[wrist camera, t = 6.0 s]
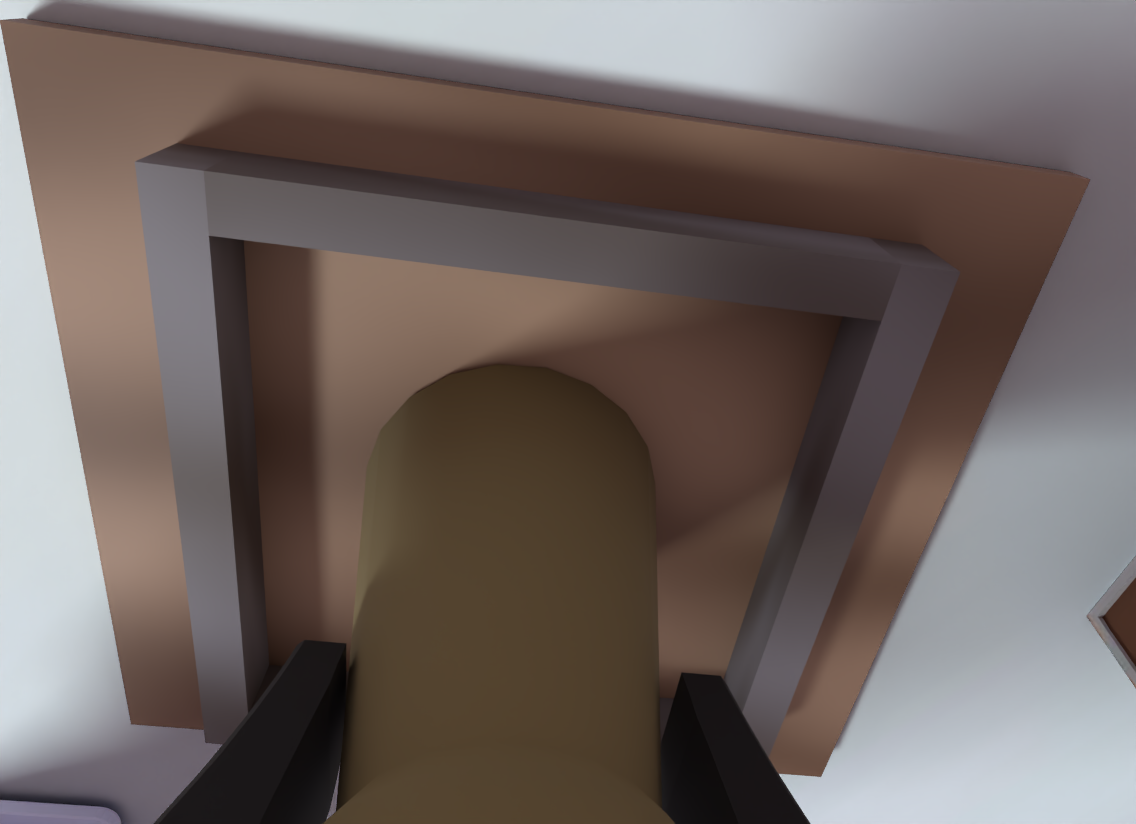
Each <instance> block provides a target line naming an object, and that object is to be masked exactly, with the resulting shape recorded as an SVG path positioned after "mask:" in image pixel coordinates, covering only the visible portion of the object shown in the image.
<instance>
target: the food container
mask: <svg viewBox="0 0 1136 824" xmlns="http://www.w3.org/2000/svg"><path fill="white" fill-rule="evenodd" d="M1087 617H1088V619H1089V620H1090V622H1091V623H1092V625H1093V626H1094V628H1095V629H1096V631H1097V632H1098V634H1099V635H1100V637H1101V638H1102V639H1103V641H1104V642H1105V644H1106V645H1107V647H1108V648H1109V650H1110V651H1111V653H1112V654H1113V656H1114V657H1115V659H1116V660H1117V661H1118V663H1119V664H1120V666H1121V667H1122V669H1123V670H1124V672H1125V673H1126V675H1127V676H1128V678H1129V679H1130V681H1131V682H1132V683H1133V685H1134V686H1135V688H1136V556H1135V557H1134V559H1133V560H1132V561H1131V562H1130V564H1129V565H1128V566H1127V567H1126V568H1125V570H1124V571H1123V572H1122V573H1121V575H1120V576H1119V577H1118V578H1117V579H1116V581H1115V582H1114V583H1113V584H1112V585H1111V587H1110V588H1109V589H1108V590H1107V592H1106V593H1105V594H1104V595H1103V596H1102V598H1101V599H1100V600H1099V601H1098V603H1097V604H1096V605H1095V606H1094V607H1093V609H1092V610H1091V611H1090V612H1089V614H1088V615H1087Z"/></svg>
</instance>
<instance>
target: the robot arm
mask: <svg viewBox="0 0 1136 824" xmlns="http://www.w3.org/2000/svg"><path fill="white" fill-rule="evenodd" d="M345 706H346V643H336V642H325V641H313V640H304V641H302V642H301V643H299V644H298V645H297V646H296V647H295V649H294V650H293V652H292V653H291V655H290V657H289V658H288V660H287V661H286V663H285V664H284V665H283V667H282V668H281V670H280V671H279V673H278V674H277V675H276V677H275V678H274V680H273V681H272V682H271V684H270V685H269V687H268V688H267V689H266V691H265V692H264V693H263V695H262V696H261V697H260V699H259V700H258V701H257V703H256V704H255V705H254V706H253V708H252V709H251V710H250V712H249V713H248V714H247V716H246V717H245V718H244V719H243V721H242V722H241V723H240V724H239V726H238V727H237V728H236V729H235V731H234V732H233V733H232V734H231V735H230V737H229V738H228V739H227V740H226V742H225V743H224V744H223V745H222V746H221V748H220V749H219V750H218V751H217V753H216V754H215V755H214V756H213V757H212V759H211V760H210V761H209V762H208V763H207V765H206V766H205V767H204V768H203V769H202V770H201V772H200V773H199V774H198V775H197V776H196V777H195V778H194V779H193V781H192V782H191V783H190V784H189V785H188V786H187V787H186V788H185V789H184V791H183V792H182V793H181V794H180V795H179V796H178V797H177V798H176V799H175V801H174V802H173V803H172V804H171V805H170V806H169V807H168V808H167V809H166V811H165V812H164V813H163V814H162V815H161V816H160V817H159V818H158V819H157V821H156V822H155V823H154V824H323V823H324V822H325V821H326V818H327V815H328V812H329V809H330V806H331V801H332V797H333V793H334V788H335V784H336V780H337V775H338V771H339V766H340V762H341V750H342V739H343V728H344V717H345ZM661 782H662V810H663V811H664V812H666V813H667V815H668V816H669V817H670V818H671V819H672V820H673V821H674V823H675V824H810V822H809V821H808V819H807V818H806V816H805V815H804V813H803V812H802V810H801V808H800V807H799V805H798V804H797V802H796V801H795V799H794V798H793V796H792V794H791V793H790V791H789V790H788V788H787V787H786V785H785V784H784V782H783V780H782V779H781V777H780V776H779V774H778V772H777V771H776V769H775V768H774V766H773V764H772V763H771V761H770V759H769V758H768V756H767V754H766V753H765V751H764V749H763V748H762V746H761V744H760V742H759V741H758V739H757V737H756V736H755V734H754V732H753V731H752V729H751V727H750V725H749V724H748V722H747V720H746V718H745V717H744V715H743V713H742V711H741V709H740V708H739V706H738V704H737V702H736V700H735V699H734V697H733V695H732V693H731V691H730V690H729V688H728V686H727V684H726V682H725V681H724V680H723V678H722V677H721V676H718V675H706V674H695V673H683V672H681V676H680V679H679V683H678V686H677V690H676V693H675V696H674V700H673V703H672V707H671V710H670V714H669V717H668V720H667V724H666V727H665V731H664V734H663V738H662V741H661ZM0 824H121V820H120V818H119V816H118V814H117V813H116V812H114V811H113V810H111V809H109V808H105V807H99V806H84V805H69V804H54V803H39V802H25V801H10V800H0Z"/></svg>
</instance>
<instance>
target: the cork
mask: <svg viewBox="0 0 1136 824" xmlns="http://www.w3.org/2000/svg"><path fill="white" fill-rule="evenodd" d="M323 824H675V823H674V821H673V820H672V819H671V818H670V817H669V816H668V815H667V813H666V812H664V811H663V810H662V782H661V734H660V687H659V639H658V591H657V543H656V495H655V480H654V475H653V470H652V465H651V460H650V454H649V449H648V446H647V444H646V443H645V441H644V440H643V438H642V436H641V435H640V433H639V432H638V430H637V429H636V427H635V425H634V424H633V422H632V421H631V419H630V417H629V416H628V414H627V413H626V412H625V411H624V410H623V409H622V408H620V407H619V406H618V405H616V404H615V403H614V402H613V401H611V400H610V399H609V398H608V397H606V396H605V395H604V394H602V393H601V392H600V391H599V390H597V389H596V388H595V387H594V386H592V385H591V384H588V383H585V382H583V381H580V380H577V379H575V378H572V377H570V376H567V375H564V374H562V373H559V372H556V371H554V370H551V369H548V368H541V367H527V366H513V365H500V364H497V365H492V366H488V367H483V368H478V369H474V370H469V371H464V372H460V373H455V374H450V375H448V376H446V377H445V378H443V379H441V380H439V381H438V382H436V383H434V384H432V385H430V386H429V387H427V388H425V389H423V390H422V391H420V392H418V393H416V394H414V395H413V396H411V397H409V398H408V399H407V401H406V402H405V403H404V404H403V405H402V406H401V407H400V408H399V410H398V411H397V412H396V413H395V414H394V415H393V416H392V417H391V419H390V420H389V421H388V422H387V423H386V424H385V425H384V426H383V428H382V429H381V430H380V433H379V436H378V438H377V441H376V444H375V446H374V449H373V451H372V454H371V457H370V459H369V462H368V465H367V470H366V481H365V493H364V504H363V515H362V526H361V538H360V549H359V560H358V571H357V582H356V594H355V605H354V616H353V627H352V638H351V650H350V661H349V672H348V683H347V694H346V706H345V717H344V728H343V739H342V750H341V762H340V773H339V784H338V795H337V807H336V812H335V813H334V814H333V815H332V816H331V817H330V818H328V819H327V820H326V821H325V822H324V823H323Z"/></svg>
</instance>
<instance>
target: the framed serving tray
mask: <svg viewBox="0 0 1136 824" xmlns="http://www.w3.org/2000/svg"><path fill="white" fill-rule="evenodd" d="M0 24H1V29H2V34H3V40H4V45H5V50H6V56H7V61H8V66H9V72H10V77H11V82H12V88H13V93H14V99H15V104H16V109H17V115H18V120H19V125H20V131H21V136H22V141H23V147H24V152H25V158H26V163H27V168H28V174H29V179H30V184H31V190H32V195H33V200H34V206H35V211H36V216H37V222H38V227H39V233H40V238H41V243H42V249H43V254H44V259H45V265H46V270H47V275H48V281H49V286H50V292H51V297H52V302H53V308H54V313H55V318H56V324H57V329H58V334H59V340H60V345H61V351H62V356H63V361H64V367H65V372H66V377H67V383H68V388H69V393H70V399H71V404H72V409H73V415H74V420H75V426H76V431H77V436H78V442H79V447H80V452H81V458H82V463H83V468H84V474H85V479H86V485H87V490H88V495H89V501H90V506H91V511H92V517H93V522H94V527H95V533H96V538H97V543H98V549H99V554H100V560H101V565H102V570H103V576H104V581H105V586H106V592H107V597H108V602H109V608H110V613H111V619H112V624H113V629H114V635H115V640H116V645H117V651H118V656H119V661H120V667H121V672H122V678H123V683H124V688H125V694H126V699H127V704H128V710H129V715H130V720H131V724H136V725H149V726H162V727H175V728H188V729H201V730H204V733H205V742H206V743H215V744H224V743H225V742H226V740H227V739H228V738H229V737H230V735H231V734H232V733H233V732H234V731H235V729H236V728H237V727H238V726H239V724H240V723H241V722H242V721H243V719H244V718H245V717H246V716H247V714H248V713H249V712H250V710H251V709H252V708H253V706H254V705H255V704H256V703H257V701H258V700H259V699H260V697H261V696H262V695H263V693H264V692H265V691H266V689H267V688H268V687H269V685H270V684H271V682H272V681H273V680H274V678H275V677H276V675H277V674H278V673H279V671H280V670H281V668H282V667H283V665H284V664H285V663H286V661H287V660H288V658H289V657H290V655H291V653H292V652H293V650H294V649H295V647H296V646H297V645H298V644H299V643H301V642H302V641H304V640H313V641H325V642H336V643H346V694H347V683H348V672H349V661H350V650H351V638H352V627H353V616H354V605H355V594H356V582H357V571H358V560H359V549H360V538H361V526H362V515H363V504H364V493H365V481H366V470H367V465H368V462H369V459H370V457H371V454H372V451H373V449H374V446H375V444H376V441H377V438H378V436H379V433H380V430H381V429H382V428H383V426H384V425H385V424H386V423H387V422H388V421H389V420H390V419H391V417H392V416H393V415H394V414H395V413H396V412H397V411H398V410H399V408H400V407H401V406H402V405H403V404H404V403H405V402H406V401H407V399H408V398H409V397H411V396H413V395H414V394H416V393H418V392H420V391H422V390H423V389H425V388H427V387H429V386H430V385H432V384H434V383H436V382H438V381H439V380H441V379H443V378H445V377H446V376H448V375H450V374H455V373H460V372H464V371H469V370H474V369H478V368H483V367H488V366H492V365H497V364H500V365H513V366H527V367H541V368H548V369H551V370H554V371H556V372H559V373H562V374H564V375H567V376H570V377H572V378H575V379H577V380H580V381H583V382H585V383H588V384H591V385H592V386H594V387H595V388H596V389H597V390H599V391H600V392H601V393H602V394H604V395H605V396H606V397H608V398H609V399H610V400H611V401H613V402H614V403H615V404H616V405H618V406H619V407H620V408H622V409H623V410H624V411H625V412H626V413H627V414H628V416H629V417H630V419H631V421H632V422H633V424H634V425H635V427H636V429H637V430H638V432H639V433H640V435H641V436H642V438H643V440H644V441H645V443H646V444H647V446H648V449H649V454H650V460H651V465H652V470H653V475H654V480H655V495H656V543H657V591H658V639H659V687H660V734H661V741H662V738H663V734H664V731H665V727H666V724H667V720H668V717H669V714H670V710H671V707H672V703H673V700H674V696H675V693H676V690H677V686H678V683H679V679H680V676H681V672H683V673H695V674H706V675H718V676H721V677H722V678H723V680H724V681H725V682H726V684H727V686H728V688H729V690H730V691H731V693H732V695H733V697H734V699H735V700H736V702H737V704H738V706H739V708H740V709H741V711H742V713H743V715H744V717H745V718H746V720H747V722H748V724H749V725H750V727H751V729H752V731H753V732H754V734H755V736H756V737H757V739H758V741H759V742H760V744H761V746H762V748H763V749H764V751H765V753H766V754H767V756H768V758H769V759H770V761H771V763H772V764H773V766H774V768H775V769H776V771H777V772H778V774H791V775H804V776H817V777H821V776H822V774H823V771H824V769H825V767H826V765H827V762H828V760H829V758H830V756H831V754H832V751H833V749H834V747H835V745H836V742H837V740H838V738H839V736H840V734H841V731H842V729H843V727H844V725H845V723H846V720H847V718H848V716H849V714H850V711H851V709H852V707H853V705H854V703H855V700H856V698H857V696H858V694H859V691H860V689H861V687H862V685H863V683H864V680H865V678H866V676H867V674H868V672H869V669H870V667H871V665H872V663H873V660H874V658H875V656H876V654H877V652H878V649H879V647H880V645H881V643H882V640H883V638H884V636H885V634H886V632H887V629H888V627H889V625H890V623H891V621H892V618H893V616H894V614H895V612H896V609H897V607H898V605H899V603H900V601H901V598H902V596H903V594H904V592H905V589H906V587H907V585H908V583H909V581H910V578H911V576H912V574H913V572H914V570H915V567H916V565H917V563H918V561H919V558H920V556H921V554H922V552H923V550H924V547H925V545H926V543H927V541H928V538H929V536H930V534H931V532H932V530H933V527H934V525H935V523H936V521H937V519H938V516H939V514H940V512H941V510H942V507H943V505H944V503H945V501H946V499H947V496H948V494H949V492H950V490H951V487H952V485H953V483H954V481H955V479H956V476H957V474H958V472H959V470H960V468H961V465H962V463H963V461H964V459H965V456H966V454H967V452H968V450H969V448H970V445H971V443H972V441H973V439H974V436H975V434H976V432H977V430H978V428H979V425H980V423H981V421H982V419H983V417H984V414H985V412H986V410H987V408H988V405H989V403H990V401H991V399H992V397H993V394H994V392H995V390H996V388H997V385H998V383H999V381H1000V379H1001V377H1002V374H1003V372H1004V370H1005V368H1006V366H1007V363H1008V361H1009V359H1010V357H1011V354H1012V352H1013V350H1014V348H1015V346H1016V343H1017V341H1018V339H1019V337H1020V334H1021V332H1022V330H1023V328H1024V326H1025V323H1026V321H1027V319H1028V317H1029V314H1030V312H1031V310H1032V308H1033V306H1034V303H1035V301H1036V299H1037V297H1038V295H1039V292H1040V290H1041V288H1042V286H1043V283H1044V281H1045V279H1046V277H1047V275H1048V272H1049V270H1050V268H1051V266H1052V263H1053V261H1054V259H1055V257H1056V255H1057V252H1058V250H1059V248H1060V246H1061V244H1062V241H1063V239H1064V237H1065V235H1066V232H1067V230H1068V228H1069V226H1070V224H1071V221H1072V219H1073V217H1074V215H1075V212H1076V210H1077V208H1078V206H1079V204H1080V201H1081V199H1082V197H1083V195H1084V193H1085V190H1086V188H1087V186H1088V184H1089V181H1090V179H1087V178H1085V177H1082V176H1079V175H1077V174H1074V173H1071V172H1066V171H1059V170H1052V169H1046V168H1039V167H1032V166H1025V165H1018V164H1011V163H1005V162H998V161H991V160H984V159H977V158H971V157H964V156H957V155H950V154H943V153H937V152H930V151H923V150H916V149H909V148H902V147H896V146H889V145H882V144H875V143H868V142H862V141H855V140H848V139H841V138H834V137H827V136H821V135H814V134H807V133H800V132H793V131H787V130H780V129H773V128H766V127H759V126H753V125H746V124H739V123H732V122H725V121H718V120H712V119H705V118H698V117H691V116H684V115H678V114H671V113H664V112H657V111H650V110H644V109H637V108H630V107H623V106H616V105H609V104H603V103H596V102H589V101H582V100H575V99H569V98H562V97H555V96H548V95H541V94H535V93H528V92H521V91H514V90H507V89H500V88H494V87H487V86H480V85H473V84H466V83H460V82H453V81H446V80H439V79H432V78H426V77H419V76H412V75H405V74H398V73H391V72H385V71H378V70H371V69H364V68H357V67H351V66H344V65H337V64H330V63H323V62H317V61H310V60H303V59H296V58H289V57H282V56H276V55H269V54H262V53H255V52H248V51H242V50H235V49H228V48H221V47H214V46H208V45H201V44H194V43H187V42H180V41H173V40H167V39H160V38H153V37H146V36H139V35H133V34H126V33H119V32H112V31H105V30H99V29H92V28H85V27H78V26H71V25H64V24H58V23H51V22H44V21H37V20H30V19H24V18H21V19H8V20H0Z"/></svg>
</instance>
